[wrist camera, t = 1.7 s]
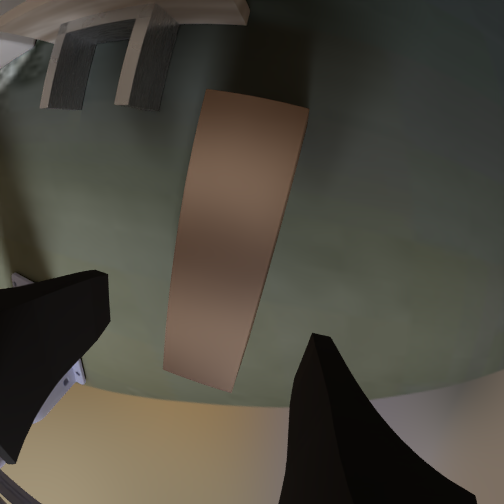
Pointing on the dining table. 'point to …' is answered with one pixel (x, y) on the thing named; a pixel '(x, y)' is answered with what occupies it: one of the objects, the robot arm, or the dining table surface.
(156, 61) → the bracket
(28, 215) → the dining table surface
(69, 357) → the robot arm
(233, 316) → the brown wooden block
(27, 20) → the wall plate
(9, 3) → the medicine bottle
